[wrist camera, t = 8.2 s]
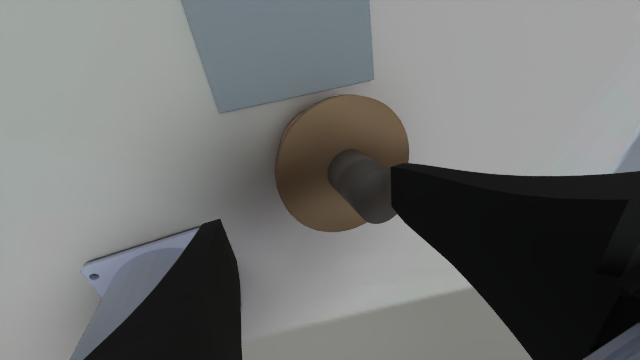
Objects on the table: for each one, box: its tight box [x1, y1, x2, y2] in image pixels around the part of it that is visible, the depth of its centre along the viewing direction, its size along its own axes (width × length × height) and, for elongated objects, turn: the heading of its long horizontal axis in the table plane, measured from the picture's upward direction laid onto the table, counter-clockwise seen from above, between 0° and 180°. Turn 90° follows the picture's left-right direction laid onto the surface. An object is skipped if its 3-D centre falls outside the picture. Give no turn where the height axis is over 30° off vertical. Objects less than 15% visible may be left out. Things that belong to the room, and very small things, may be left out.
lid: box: [275, 95, 409, 232], centre depth 14 cm, size 9×9×5 cm
